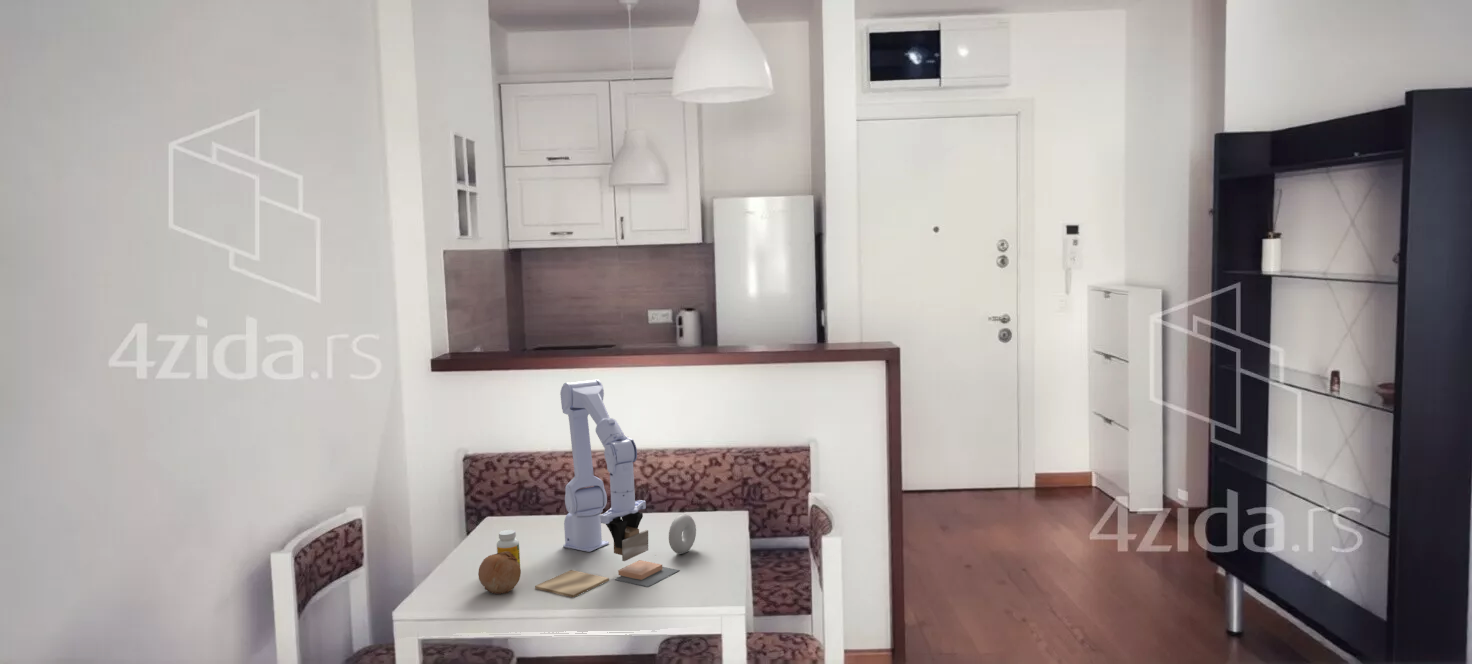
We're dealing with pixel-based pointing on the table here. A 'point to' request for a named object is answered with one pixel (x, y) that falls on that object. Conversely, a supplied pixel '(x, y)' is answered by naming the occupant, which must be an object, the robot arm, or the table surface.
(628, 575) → the tile
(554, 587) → the oak board
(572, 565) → the table surface
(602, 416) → the robot arm
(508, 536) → the supplement bottle
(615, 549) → the brown grey t-shaped block
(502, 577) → the onion
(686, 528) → the donut
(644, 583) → the slate mat
